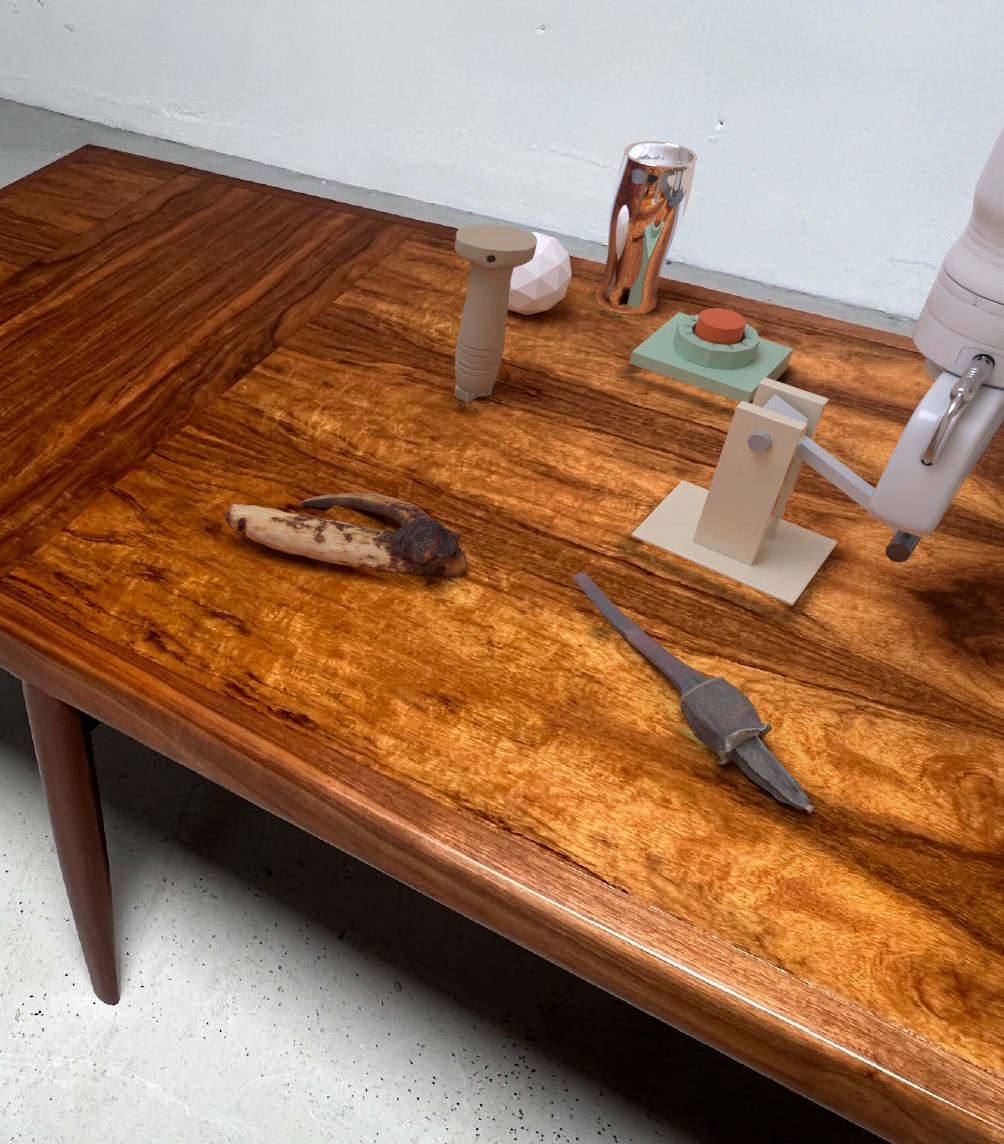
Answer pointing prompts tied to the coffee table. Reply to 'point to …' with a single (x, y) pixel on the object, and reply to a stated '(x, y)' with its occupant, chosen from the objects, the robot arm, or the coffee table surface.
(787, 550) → the lever stand
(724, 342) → the button
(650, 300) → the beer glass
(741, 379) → the button housing
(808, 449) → the tap lever
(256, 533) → the lashed bone hook
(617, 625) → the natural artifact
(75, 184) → the coffee table surface
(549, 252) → the geometric ball
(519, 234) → the handle
